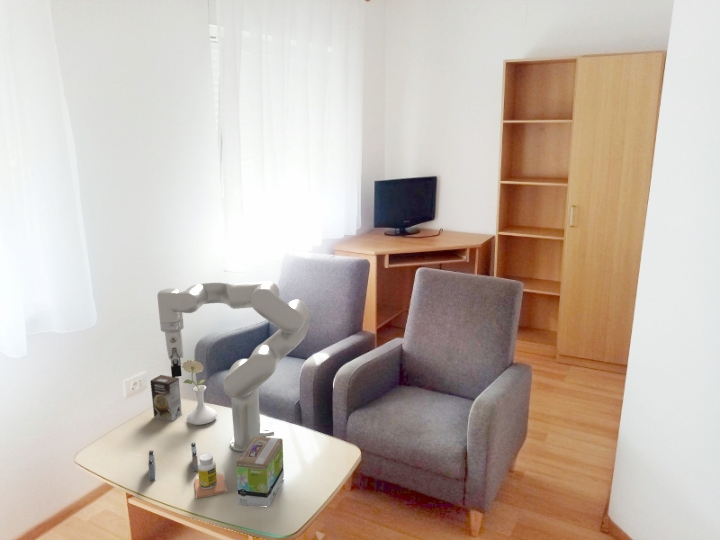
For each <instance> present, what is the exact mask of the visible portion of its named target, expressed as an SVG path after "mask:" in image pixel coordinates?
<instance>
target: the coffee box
mask: <svg viewBox="0 0 720 540" xmlns="http://www.w3.org/2000/svg"><path fill="white" fill-rule="evenodd" d="M180 389H181V388H180V378H179V377H172V376H170V375H164V374H163V375H162V374H160V375H158V376H156V377H153V378H152V379H151V380H150V390H151V398H152V399H151V400H152V408H153V417H154V418H155V419H159V420H164V421H168V422H173V421H175V420H176V419H178V418H179V417H180V416H182V415H183V412H182V401H181V390H180Z"/></svg>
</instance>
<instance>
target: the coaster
mask: <svg viewBox="0 0 720 540" xmlns="http://www.w3.org/2000/svg"><path fill="white" fill-rule="evenodd" d="M216 476H217V484H216V485H215V486H214V487H213V488H211V489H202V488H200V486H199V478H197V479H194V486H195V487H194V488H195V497H196V498H195V499H200V498H201V499H202V498H206V497H210V496H215V495H219V494H223V493H227V487H226V480H225V475H224V473H221V474H216Z"/></svg>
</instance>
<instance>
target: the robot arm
mask: <svg viewBox="0 0 720 540" xmlns="http://www.w3.org/2000/svg"><path fill="white" fill-rule="evenodd" d="M280 294H281V293H280V289H279V287H278V285H277V284H276V283H275V282H273V281H256V282H253V281H252V282H243V283H242V282H241V283H228V282H227V283H224V282H205V283H198V284H197V283H196V284H193V285H191V286H189V287H188V288H186V289H185V290H184V291H182V292H181V291H180V290H179V289H177V288H165V289H161V290H159V291H158V292H157V305H158V315H159V317H158V318H159V324H160V331H161V332H162V333H163V332H164V337H165V346H166V351H167V356H168V359H169V360H170V364H171V365H170V370H171V371H170V372H171V377H176V378H179V377H181V376H182V375H183V374H182V363H181V359H183V358H184V346H183V345H184V344H183V334H182V330H183V329H184V327H185V326H184V317H183V316H184V315H183V313H184V314H193V313H195V312H197V311H198V310H199V309H200V308H201V307H202V306H203V305H207V304H224V305H227V306H228V307H229V308H230V309H233V310H238V309H249V308H252V309H253V310H254V311H255V312H256V313H257V314H258V315H260V316H261V317H262V318H264V319H265V320H267V321H268V322H270V324H272V325H274V326H275V327H276V328H278V330H277V331H276V332H274V333H273V334H272V335H270V337H268V338H267V339H265V340H264V341H263V342H262V343H260V344H258V345H257V346H256V347H255V348H254V350H253V351H252V352H251V355H250V356H249V358H240V359H238V360H236V361H235V362H234V363H233V364H232V365H231V367H230V369H229V370H228V373H227V374H226V376H225V378H224V380H223V386H222V387H223V390H224V393H225V394H226V395H227V397H229V398H230V399H231V402H230V403H231V412H232V413H231V414H232V415H231V416H232V429H233V436H232V438H231V439H230V441H229V446H230V448H231V449H232V450H233V451H236V452H240V453H242V452H243V451H244V450H245V448H246V447H247V445H248V444H249V443H250V441H251V440H252V438H253V437H254V436H257V437H273V436H275V430H273V429H272V430H270V428H264V429H263V428H261V418H260V417H261V416H260V415H261V414H260V398H259V397H260V396H259V395H260V394H259V387H260V386H262V385H263V384H264V383H265V382H267V381H268V380H269V379H270V378H271V377H272V376H273V375H274V373H275V371H276V370H277V367H278V366H279V363H281V361H282V360H283V359H284V358H285V357H286V356H287V355H288V354H290V353H291V352H292V351H293V350H294V349H296V348H297V347H298V345H300V343H301V342H302V341H303V340H304V339H305V337H306V335H307V332H308V330H309V328H310V321H311V317H310V310H309V308H308V305H307V304H306V303H305V302H304V301H303V300H300V299H293V300H290V301H288V302H285V301H284V300H282V299H281V298H280Z"/></svg>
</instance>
